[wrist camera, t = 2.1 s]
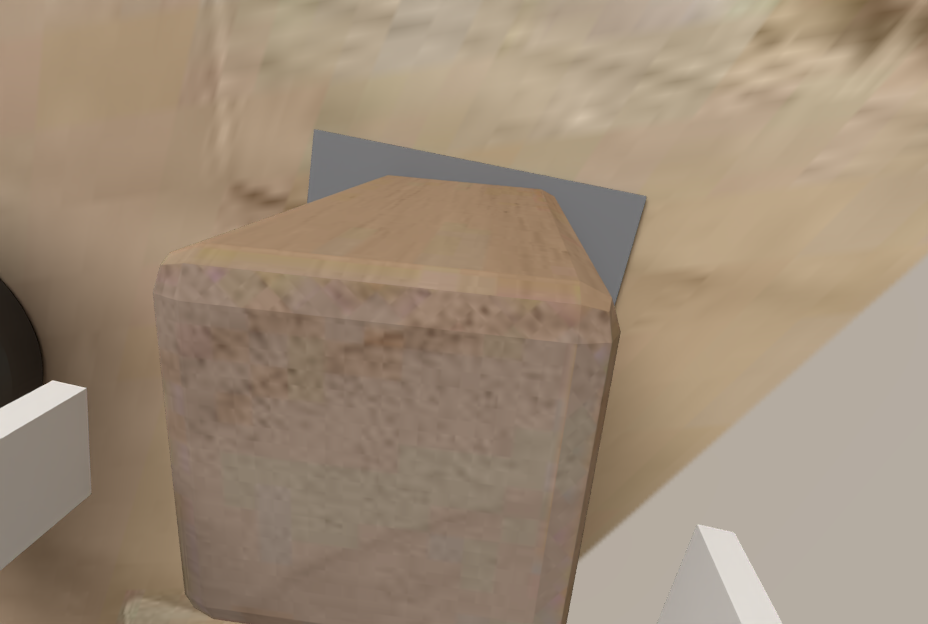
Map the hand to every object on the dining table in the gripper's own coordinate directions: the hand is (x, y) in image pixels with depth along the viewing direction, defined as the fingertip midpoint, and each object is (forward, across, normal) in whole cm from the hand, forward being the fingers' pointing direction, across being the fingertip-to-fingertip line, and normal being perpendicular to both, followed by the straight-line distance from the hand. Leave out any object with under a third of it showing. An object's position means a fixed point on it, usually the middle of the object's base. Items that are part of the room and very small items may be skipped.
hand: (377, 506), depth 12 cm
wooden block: (+21, 0, 0) cm, 21 cm away
